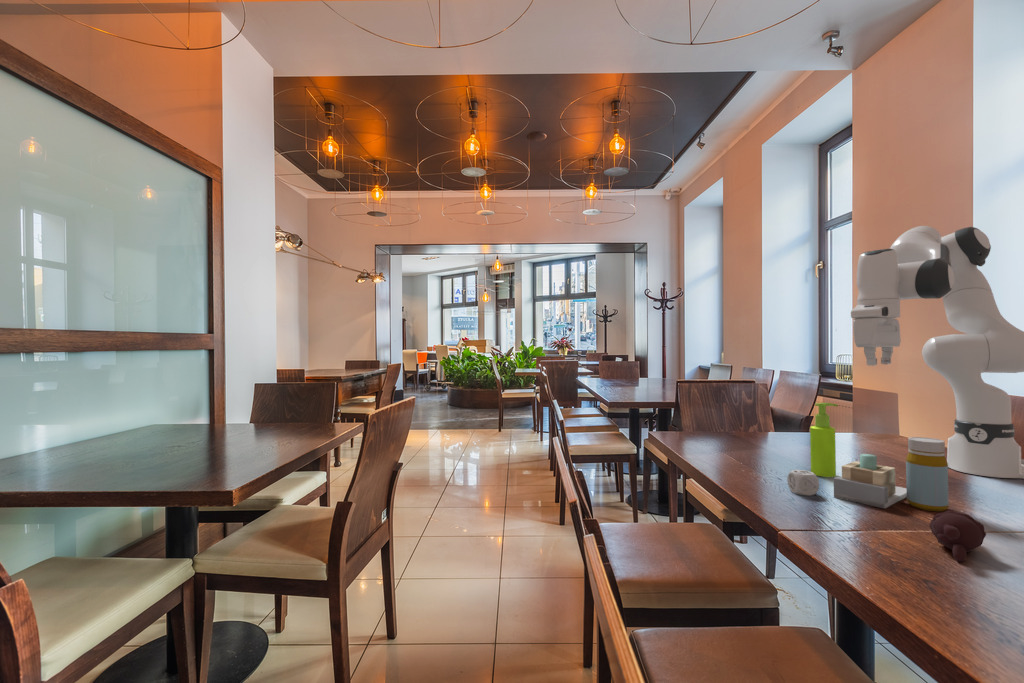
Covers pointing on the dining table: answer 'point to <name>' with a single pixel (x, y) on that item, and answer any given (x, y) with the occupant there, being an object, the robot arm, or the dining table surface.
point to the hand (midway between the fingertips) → (879, 364)
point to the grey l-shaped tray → (867, 492)
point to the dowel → (868, 461)
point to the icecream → (957, 532)
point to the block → (871, 475)
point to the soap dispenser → (823, 444)
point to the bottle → (927, 474)
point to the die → (803, 482)
